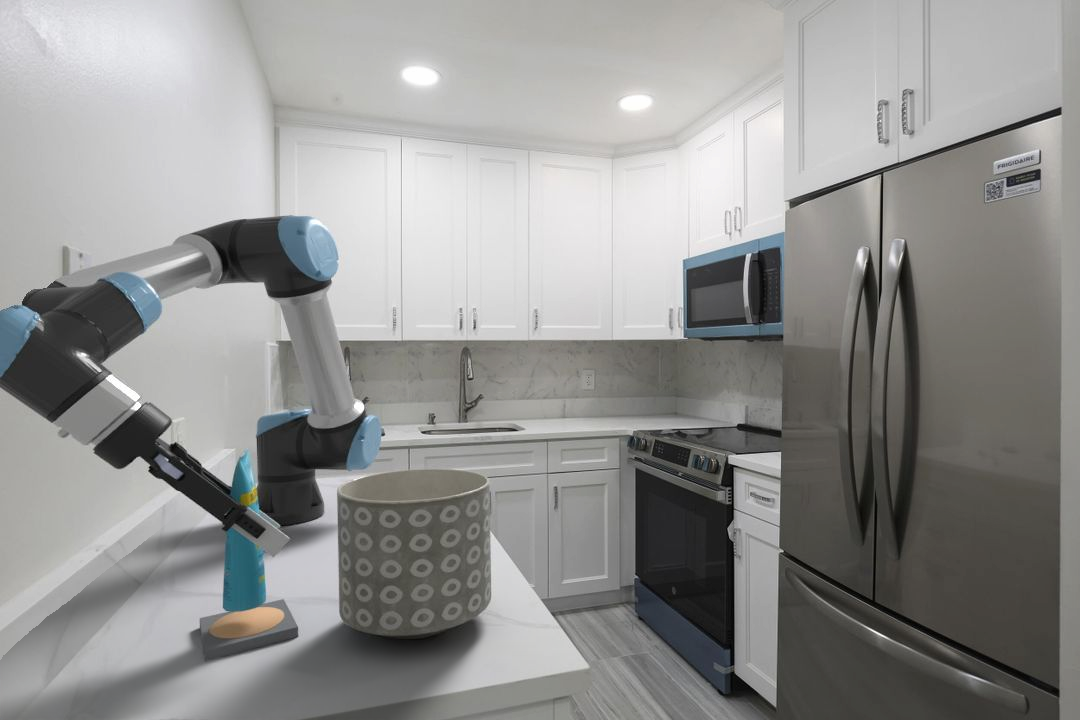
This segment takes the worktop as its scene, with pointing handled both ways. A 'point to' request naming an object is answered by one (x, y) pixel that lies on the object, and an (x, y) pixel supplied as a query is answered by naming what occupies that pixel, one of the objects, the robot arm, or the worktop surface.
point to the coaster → (246, 629)
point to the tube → (243, 549)
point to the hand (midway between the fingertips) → (276, 540)
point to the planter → (413, 551)
